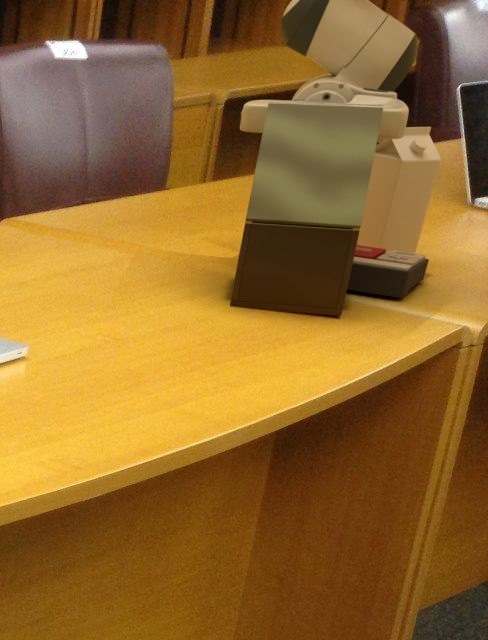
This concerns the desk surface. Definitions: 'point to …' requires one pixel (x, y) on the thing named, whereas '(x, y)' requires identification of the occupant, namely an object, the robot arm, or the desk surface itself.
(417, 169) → the milk carton
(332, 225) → the lid
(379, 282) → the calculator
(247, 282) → the chest
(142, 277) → the desk surface
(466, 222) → the desk surface
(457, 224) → the desk surface
